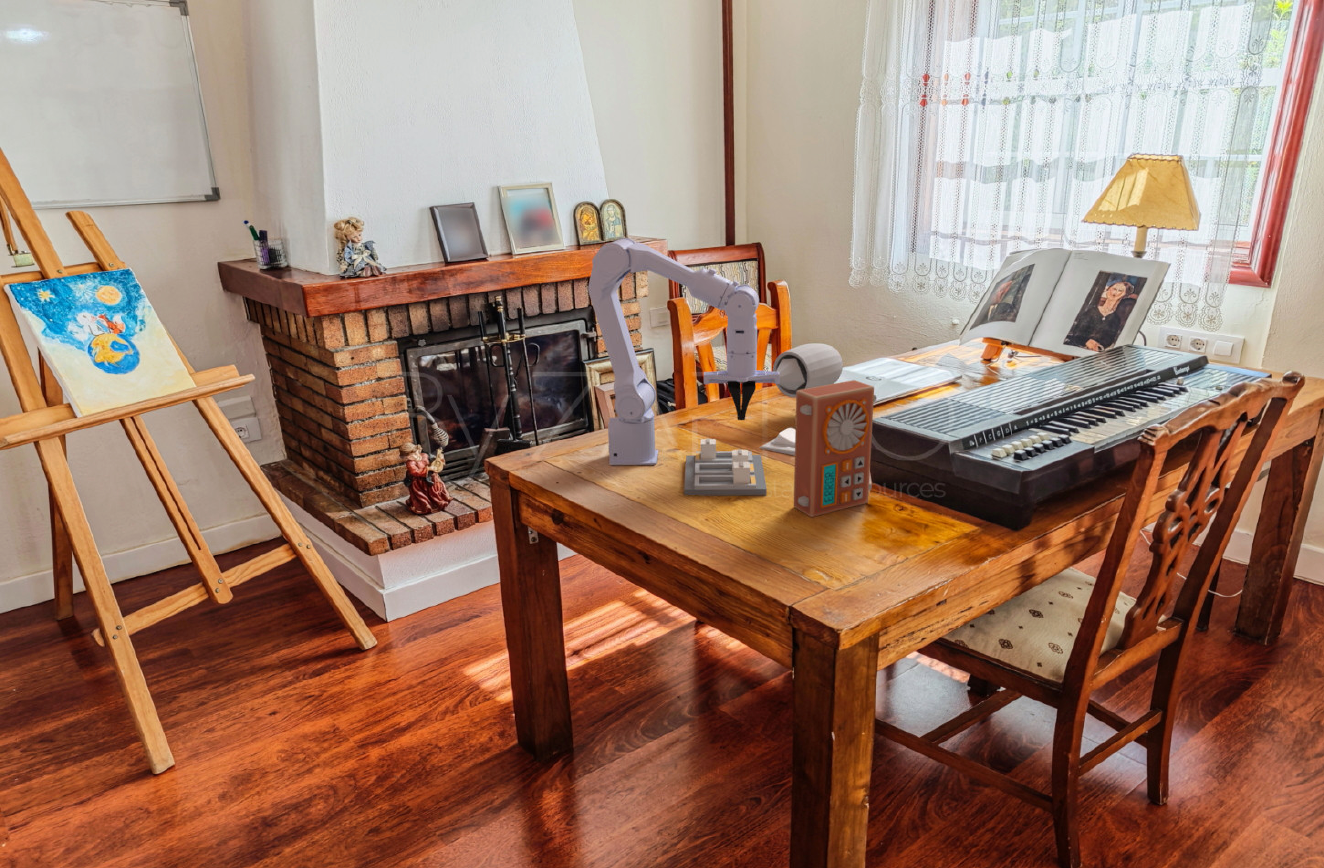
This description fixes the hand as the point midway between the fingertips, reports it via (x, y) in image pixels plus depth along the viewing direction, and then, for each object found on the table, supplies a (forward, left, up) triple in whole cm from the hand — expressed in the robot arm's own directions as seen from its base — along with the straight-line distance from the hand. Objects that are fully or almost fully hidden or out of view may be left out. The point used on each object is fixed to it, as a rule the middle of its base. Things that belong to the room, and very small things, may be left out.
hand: (741, 418), depth 171 cm
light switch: (+12, +11, -11) cm, 20 cm away
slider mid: (0, -7, -8) cm, 11 cm away
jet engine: (+15, +29, -10) cm, 34 cm away
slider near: (0, -13, -8) cm, 15 cm away
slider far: (-6, 0, -8) cm, 11 cm away
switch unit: (-3, -7, -10) cm, 12 cm away
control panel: (+15, -20, -10) cm, 27 cm away
